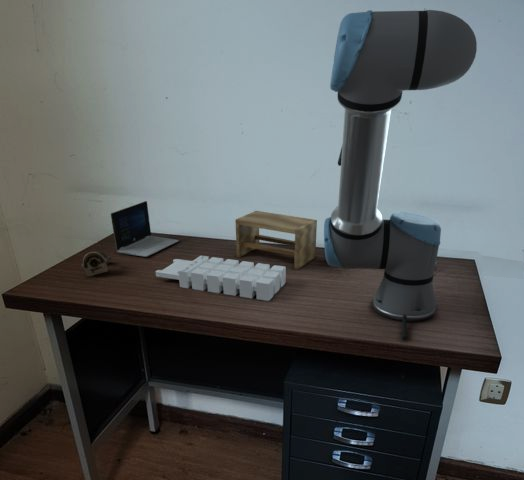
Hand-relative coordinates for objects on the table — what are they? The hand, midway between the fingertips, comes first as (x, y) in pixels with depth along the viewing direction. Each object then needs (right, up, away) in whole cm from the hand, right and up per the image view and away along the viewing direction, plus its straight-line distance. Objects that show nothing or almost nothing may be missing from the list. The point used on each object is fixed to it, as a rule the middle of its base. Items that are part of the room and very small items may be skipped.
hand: (355, 185), depth 144 cm
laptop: (-66, -13, +25) cm, 71 cm away
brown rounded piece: (-76, -24, +7) cm, 80 cm away
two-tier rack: (-23, -18, +15) cm, 33 cm away
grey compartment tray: (-39, -29, -3) cm, 49 cm away
